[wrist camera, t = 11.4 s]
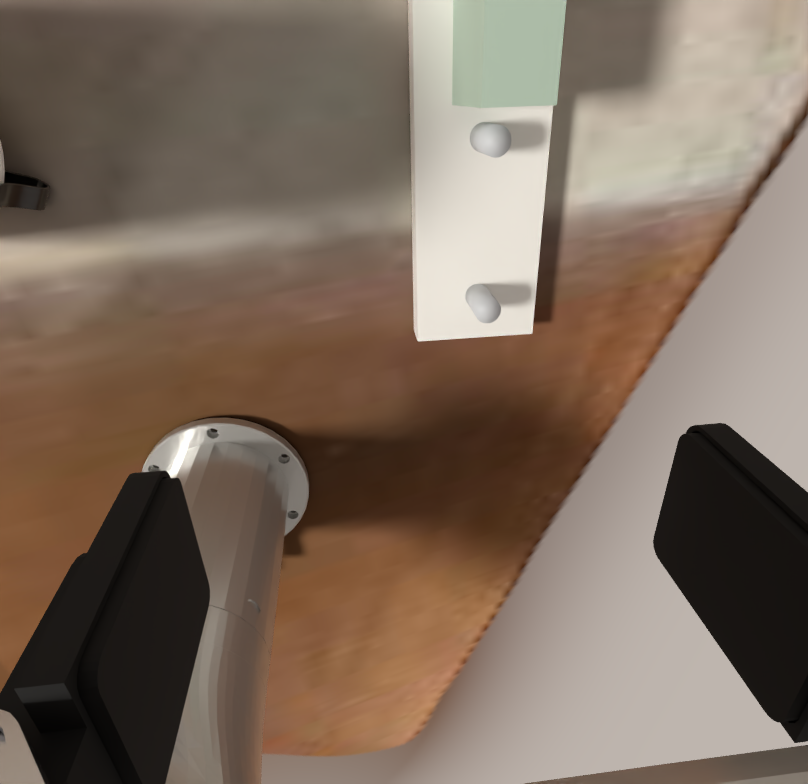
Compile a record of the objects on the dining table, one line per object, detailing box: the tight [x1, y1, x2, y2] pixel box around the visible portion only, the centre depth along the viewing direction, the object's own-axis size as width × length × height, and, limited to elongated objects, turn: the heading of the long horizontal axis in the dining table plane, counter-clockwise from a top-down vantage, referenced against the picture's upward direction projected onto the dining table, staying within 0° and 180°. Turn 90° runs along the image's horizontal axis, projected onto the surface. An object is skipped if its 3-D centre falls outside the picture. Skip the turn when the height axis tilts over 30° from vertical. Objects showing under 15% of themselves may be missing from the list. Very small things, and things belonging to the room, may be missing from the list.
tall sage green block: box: [452, 0, 567, 108], centre depth 27 cm, size 6×4×7 cm, turn 2°
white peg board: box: [408, 0, 553, 341], centre depth 31 cm, size 25×8×5 cm, turn 1°
